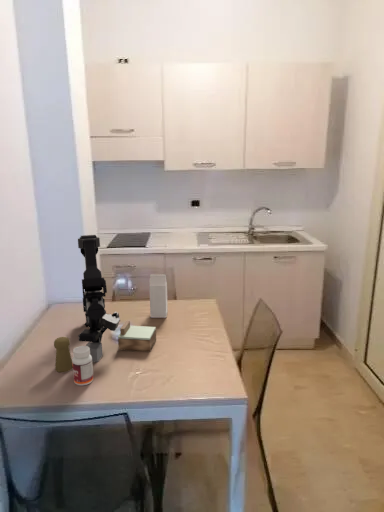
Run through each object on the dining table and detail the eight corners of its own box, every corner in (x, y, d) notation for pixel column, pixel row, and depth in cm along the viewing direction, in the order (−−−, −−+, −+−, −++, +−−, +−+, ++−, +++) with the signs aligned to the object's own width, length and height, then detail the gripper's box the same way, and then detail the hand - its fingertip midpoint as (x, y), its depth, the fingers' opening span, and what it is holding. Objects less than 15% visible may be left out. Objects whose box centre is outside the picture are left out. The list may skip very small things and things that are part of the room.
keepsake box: (118, 349, 154) (118, 338, 152) (126, 338, 163) (126, 327, 162) (150, 351, 152) (149, 340, 151) (156, 339, 161) (155, 329, 160)
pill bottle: (70, 380, 134) (68, 348, 131) (88, 373, 137) (86, 342, 134) (79, 388, 129) (76, 355, 126) (96, 381, 133) (94, 349, 130)
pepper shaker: (77, 365, 143) (74, 336, 140) (65, 374, 137) (62, 343, 135) (63, 362, 145) (60, 333, 142) (51, 370, 140) (48, 340, 137)
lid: (118, 338, 152) (117, 330, 152) (126, 327, 162) (125, 319, 161) (149, 340, 151) (149, 332, 150) (155, 328, 160) (155, 321, 159)
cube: (84, 361, 146) (83, 348, 144) (89, 354, 150) (88, 342, 149) (97, 362, 145) (96, 349, 144) (102, 355, 150) (101, 342, 148)
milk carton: (166, 317, 182) (165, 277, 178) (150, 317, 183) (148, 277, 178) (167, 311, 189) (166, 272, 185) (152, 311, 189) (150, 272, 185)
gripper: (107, 320, 137) (110, 362, 141) (124, 300, 155) (126, 338, 159) (76, 318, 139) (79, 360, 143) (96, 299, 157) (99, 336, 161)
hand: (98, 348), depth 152 cm, fingers closed
